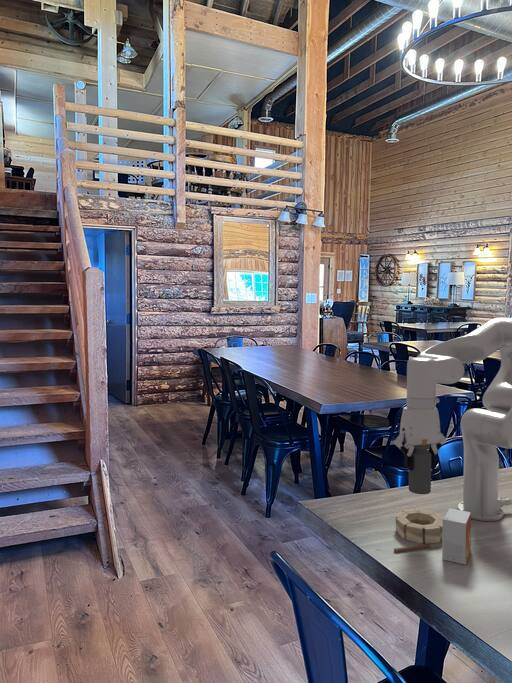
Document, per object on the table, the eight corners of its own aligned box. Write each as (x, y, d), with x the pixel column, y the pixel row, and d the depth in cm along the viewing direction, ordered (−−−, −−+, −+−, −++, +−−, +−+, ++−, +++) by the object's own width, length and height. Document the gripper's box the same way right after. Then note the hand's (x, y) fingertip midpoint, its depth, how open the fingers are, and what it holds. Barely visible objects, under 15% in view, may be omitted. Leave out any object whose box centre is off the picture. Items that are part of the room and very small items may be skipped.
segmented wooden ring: (428, 520, 147) (428, 507, 147) (453, 540, 135) (454, 525, 135) (389, 525, 145) (389, 511, 144) (411, 545, 132) (411, 531, 132)
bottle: (432, 495, 135) (433, 440, 134) (409, 493, 136) (410, 439, 135) (429, 487, 141) (430, 434, 140) (407, 486, 142) (408, 433, 141)
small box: (465, 565, 122) (466, 524, 121) (441, 559, 125) (442, 519, 124) (471, 551, 129) (471, 511, 128) (448, 546, 132) (448, 507, 131)
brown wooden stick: (428, 546, 132) (428, 543, 132) (430, 547, 131) (430, 545, 131) (393, 551, 130) (393, 548, 130) (395, 552, 129) (395, 550, 129)
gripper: (441, 399, 142) (440, 461, 144) (385, 402, 138) (384, 466, 140) (457, 404, 135) (456, 469, 136) (398, 407, 131) (397, 475, 133)
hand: (419, 467), depth 138 cm, fingers closed on bottle, 5 cm apart
